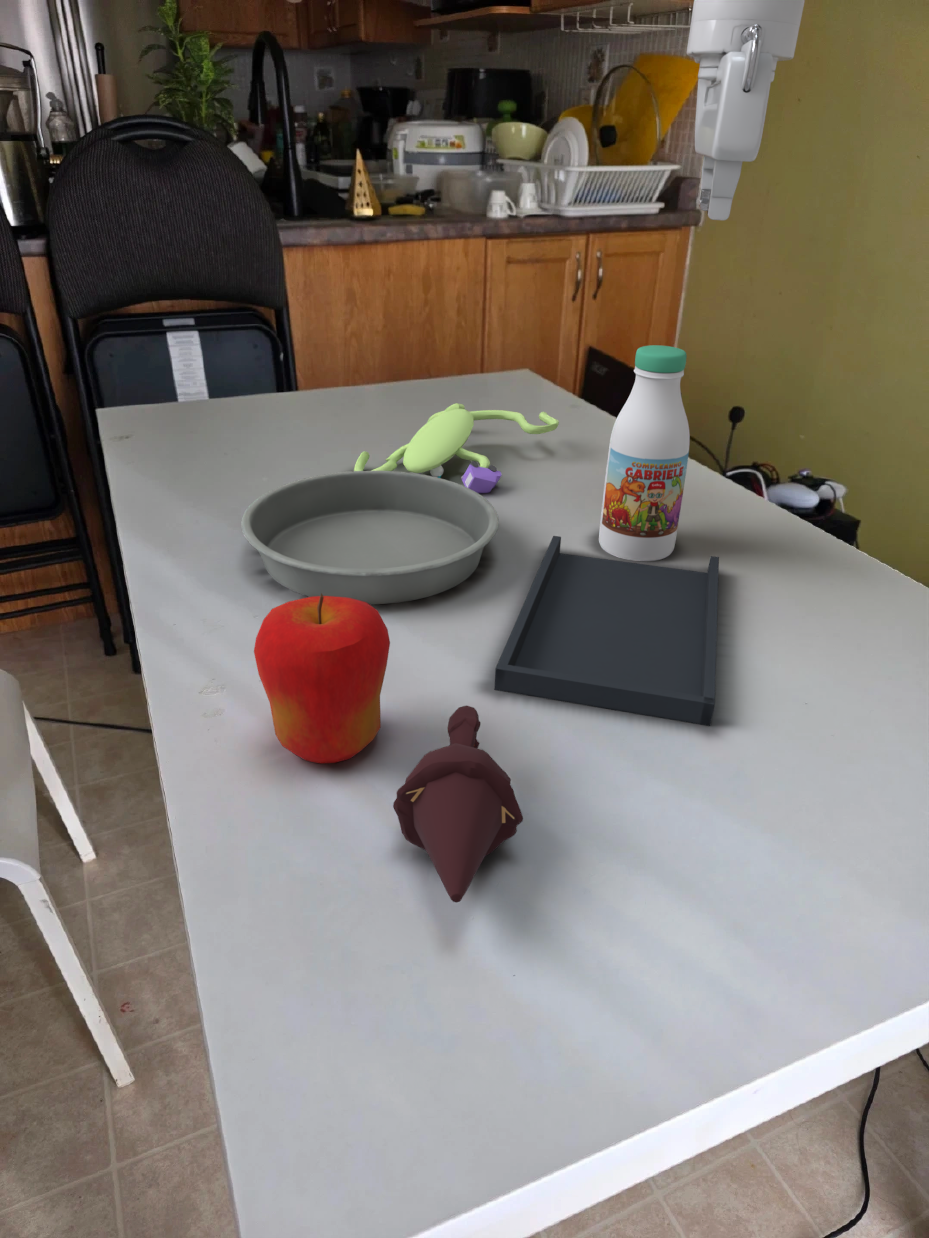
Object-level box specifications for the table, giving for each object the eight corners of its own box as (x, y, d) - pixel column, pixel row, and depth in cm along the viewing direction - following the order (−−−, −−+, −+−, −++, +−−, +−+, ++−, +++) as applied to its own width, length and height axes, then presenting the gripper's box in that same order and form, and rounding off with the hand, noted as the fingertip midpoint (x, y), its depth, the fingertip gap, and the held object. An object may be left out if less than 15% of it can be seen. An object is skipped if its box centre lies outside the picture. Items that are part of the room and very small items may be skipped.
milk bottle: (584, 537, 93) (604, 342, 83) (648, 529, 95) (675, 338, 85) (621, 568, 86) (647, 361, 76) (688, 558, 89) (722, 356, 79)
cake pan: (190, 571, 83) (184, 527, 81) (348, 492, 102) (346, 454, 100) (407, 644, 73) (406, 596, 71) (539, 541, 91) (542, 500, 89)
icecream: (548, 861, 43) (528, 706, 57) (402, 827, 42) (417, 678, 56) (506, 963, 46) (497, 792, 60) (368, 933, 45) (390, 766, 59)
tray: (551, 555, 89) (553, 535, 88) (715, 577, 85) (718, 556, 84) (494, 692, 67) (495, 668, 66) (709, 729, 64) (714, 704, 63)
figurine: (570, 449, 118) (573, 407, 115) (473, 513, 97) (475, 465, 95) (450, 425, 125) (451, 386, 123) (337, 480, 105) (335, 435, 102)
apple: (386, 704, 65) (383, 560, 60) (396, 777, 58) (393, 621, 52) (267, 712, 64) (252, 566, 58) (262, 787, 57) (245, 629, 51)
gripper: (804, 22, 64) (763, 228, 71) (764, 45, 82) (735, 208, 89) (716, 19, 65) (684, 223, 72) (695, 42, 83) (671, 204, 90)
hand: (712, 215), depth 81 cm, fingers open, 8 cm apart
